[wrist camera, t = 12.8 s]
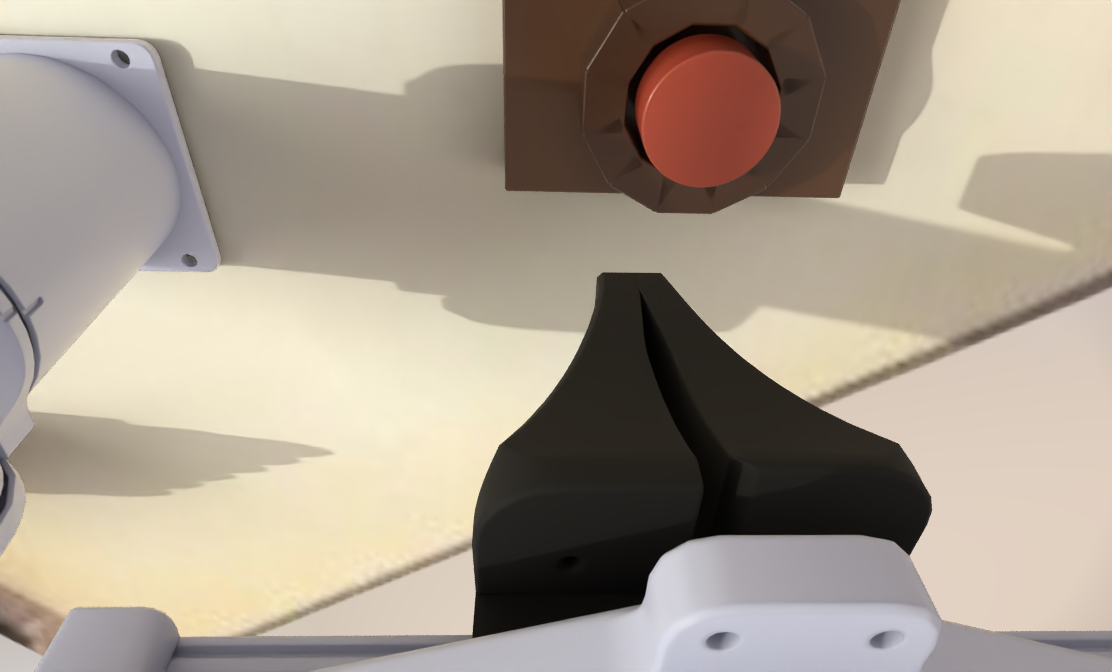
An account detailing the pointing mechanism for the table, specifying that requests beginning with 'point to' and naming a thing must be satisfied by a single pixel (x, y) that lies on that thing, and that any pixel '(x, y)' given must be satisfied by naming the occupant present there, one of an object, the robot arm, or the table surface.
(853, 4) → the bell block
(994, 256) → the table surface
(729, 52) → the bell button
